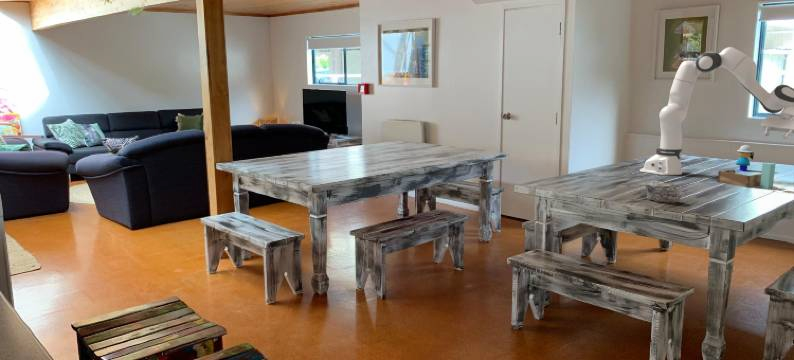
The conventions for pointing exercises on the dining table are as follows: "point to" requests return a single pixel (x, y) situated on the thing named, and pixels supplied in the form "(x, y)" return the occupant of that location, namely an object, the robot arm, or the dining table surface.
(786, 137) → the robot arm
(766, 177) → the block
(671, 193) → the rock
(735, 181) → the crate
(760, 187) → the coaster
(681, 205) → the dining table surface
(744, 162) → the toy
